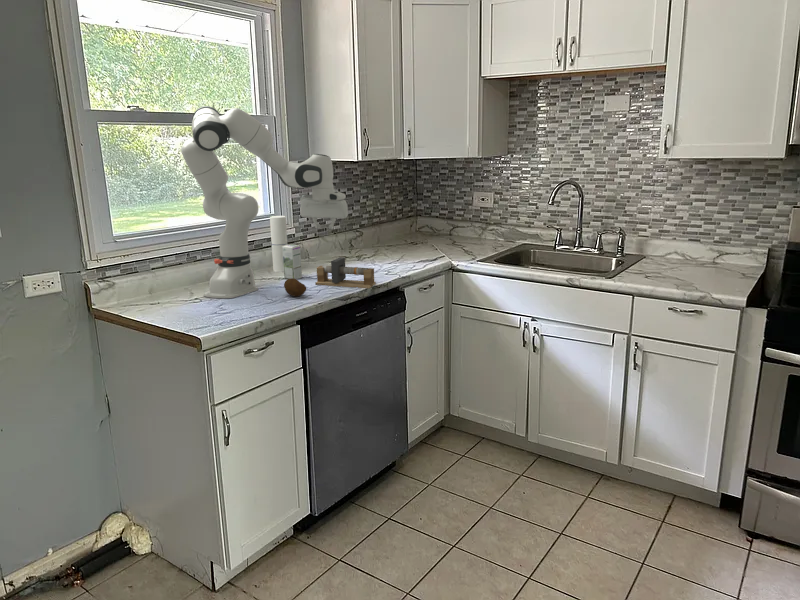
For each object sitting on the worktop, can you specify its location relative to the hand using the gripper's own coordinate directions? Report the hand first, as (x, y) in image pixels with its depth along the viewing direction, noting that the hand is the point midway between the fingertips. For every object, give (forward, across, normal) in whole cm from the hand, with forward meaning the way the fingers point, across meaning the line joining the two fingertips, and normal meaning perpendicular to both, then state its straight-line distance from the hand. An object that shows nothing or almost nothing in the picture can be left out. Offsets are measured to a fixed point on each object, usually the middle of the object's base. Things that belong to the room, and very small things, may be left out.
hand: (324, 228), depth 250 cm
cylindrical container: (+23, -32, +18) cm, 43 cm away
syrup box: (+23, -18, +5) cm, 30 cm away
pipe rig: (+23, +9, 0) cm, 25 cm away
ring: (+22, +6, 0) cm, 22 cm away
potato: (+23, -3, -23) cm, 33 cm away
